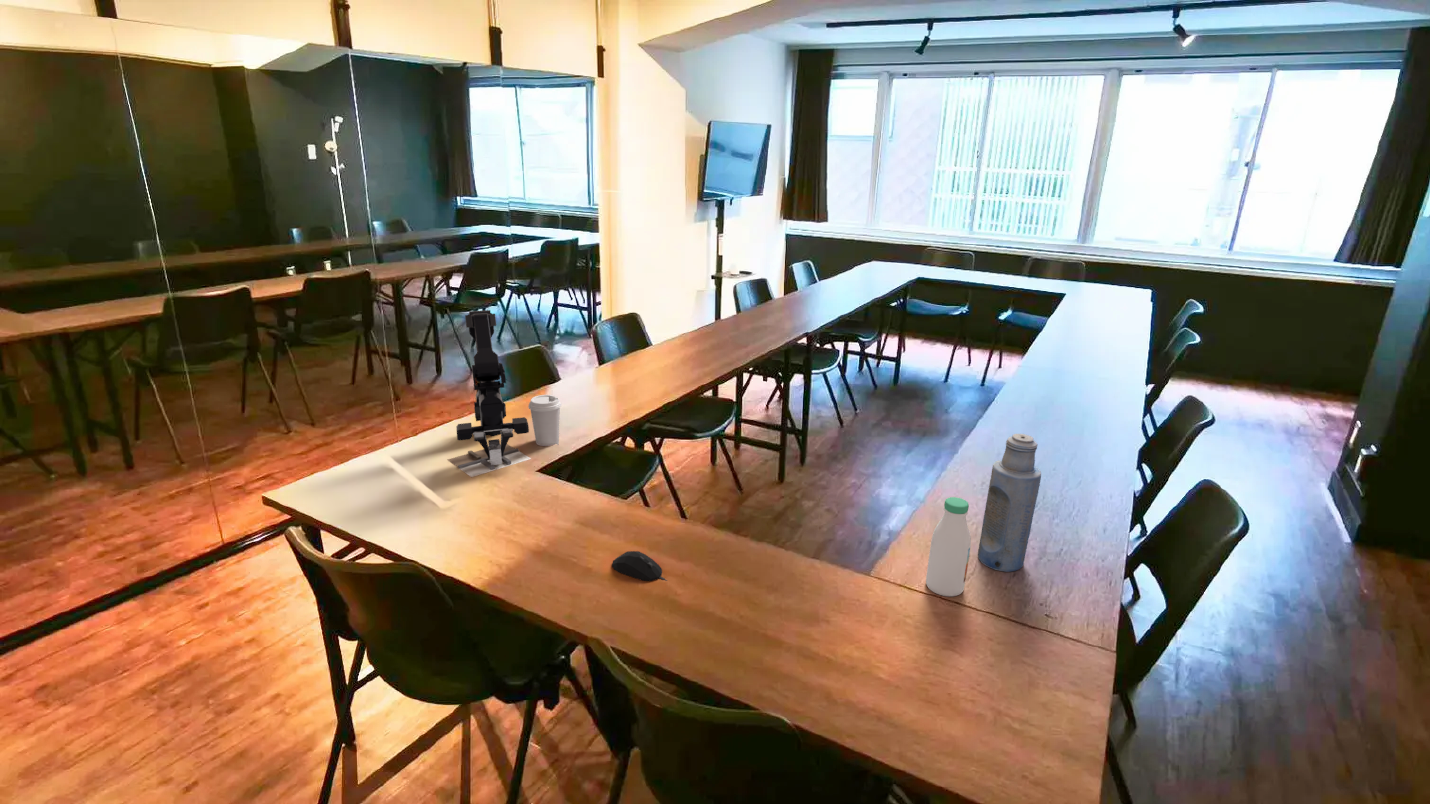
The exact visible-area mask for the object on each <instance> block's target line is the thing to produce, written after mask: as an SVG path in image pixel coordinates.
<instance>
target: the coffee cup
mask: <svg viewBox="0 0 1430 804" xmlns="http://www.w3.org/2000/svg"><path fill="white" fill-rule="evenodd" d="M561 407H562V402H561V400H560V399H559V397H558V396H556V395H553V394H541V395H536V396H533V397H532V398H531V399H530V400H529V404H528V409H529V410H530V414H531V420H532V426H533V432H534V433H533V434H534V438H535V443H536V445H538V446H540V447H541V446H543V447H548V446H549V447H550V446H554V445H557V446H560V445H559V443H560V419H561V418H560V414H561Z"/></svg>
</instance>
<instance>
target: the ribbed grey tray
mask: <svg viewBox="0 0 1430 804" xmlns="http://www.w3.org/2000/svg"><path fill="white" fill-rule="evenodd" d="M500 446H501V444H500ZM488 448H489V445H488ZM531 459H532V458H531V457H529V456H528V455H526V454H524V453H523V452H521V451H520V449H519V448H515V447H513V446H511V445H510V444H508V443H507V444H506V447H505V450H504V453H503V457H502V464H497V465H491V463H490V458H488V456H487V454H486V452H485V450H484V448H483V449H480V450H477V451H473V450H468V451H467V453H466V454H462V455H458V456H455V457H451V458H448V459H447V461H448V462H450V463H451V464H453V465H454V466H455V467H456V468H458V469H459V470H461V471H462V472H463V473H465V474H466V475H467V476H469V477H470V478H473V477H477V476H480V475H484V474H487V473H490V472H492V471H495V470H499V469H502V468H506V467H510V466H513V465H515V464H519V463H523V462H527V461H528V460H531Z"/></svg>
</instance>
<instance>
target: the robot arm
mask: <svg viewBox="0 0 1430 804" xmlns="http://www.w3.org/2000/svg"><path fill="white" fill-rule="evenodd" d="M464 319H465V326H466V327H465V328H466V329H468V331H469V332H468V333H469V335H470V336H471V337H472V339H473V340H474V342H475V349H476V353H475V354H474V355H473V364H471V373H472V381H473V389H474V390H473V391H477V392H476V394H475V400H476V401H474V402H473V405H474V407H473V410H474V418H475V422H479V421H480V425H477V426H475V425H474V426H472V422H466V423H458V424H457V425H456V437H457V441H467V440H471V439H472V438H473V439H474V440H473V441H474V442H478V443H479V444H480V445H481V447H482V448H483V449H484V450H485V452H486V454H487V456H488V458H490V453H489V448H488V446H489V445H488V439H487V436H490V437H496V436H500V445H501V446H500V447H501V457H503V453H504V450H505V447H506V444H508V442H509V440H510V439H511V438H513V437H514V433H515V434H516V435H522V434H529V433H530V428H529V421H528V419H527V418H526V417H525V416H524V417H515V418H514V417H513V418H512V419H511V421H512V422H505V423H504V419H505V417H507V409H506V408H507V407H506V403H505V402H504V400H503V398H502V395H501V393H502V392H501V389H502V388H504V389H505V384H506V383H507V379H506V371H505V366H504V365H503V363H502V362H500V361H499V360H500V359H499V355H498V354H497V353H496V352H495V351H494V350H493V344H492V337H493V335H494V333H495V326H497V320H496V319H497V318H496V313H492V312H491V310H490V309H487V310H484V309H483V310H471V311H468V314H466V315H465V314H464ZM476 382H477V384H476ZM513 432H514V433H513Z"/></svg>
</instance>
